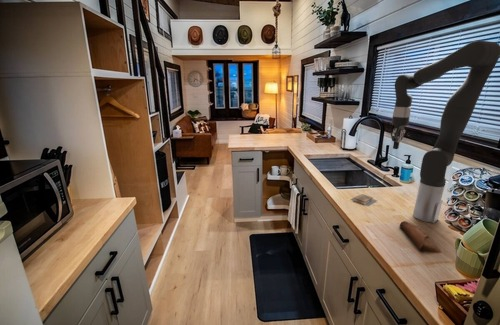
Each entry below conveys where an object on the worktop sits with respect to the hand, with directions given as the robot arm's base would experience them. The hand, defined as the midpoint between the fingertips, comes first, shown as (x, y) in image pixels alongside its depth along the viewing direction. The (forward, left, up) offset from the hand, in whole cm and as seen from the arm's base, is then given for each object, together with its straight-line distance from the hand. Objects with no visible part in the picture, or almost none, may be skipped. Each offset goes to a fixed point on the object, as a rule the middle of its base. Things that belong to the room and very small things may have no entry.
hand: (395, 148), depth 136 cm
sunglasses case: (-27, +33, -28) cm, 51 cm away
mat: (+5, +17, -27) cm, 32 cm away
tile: (+5, +14, -26) cm, 30 cm away
